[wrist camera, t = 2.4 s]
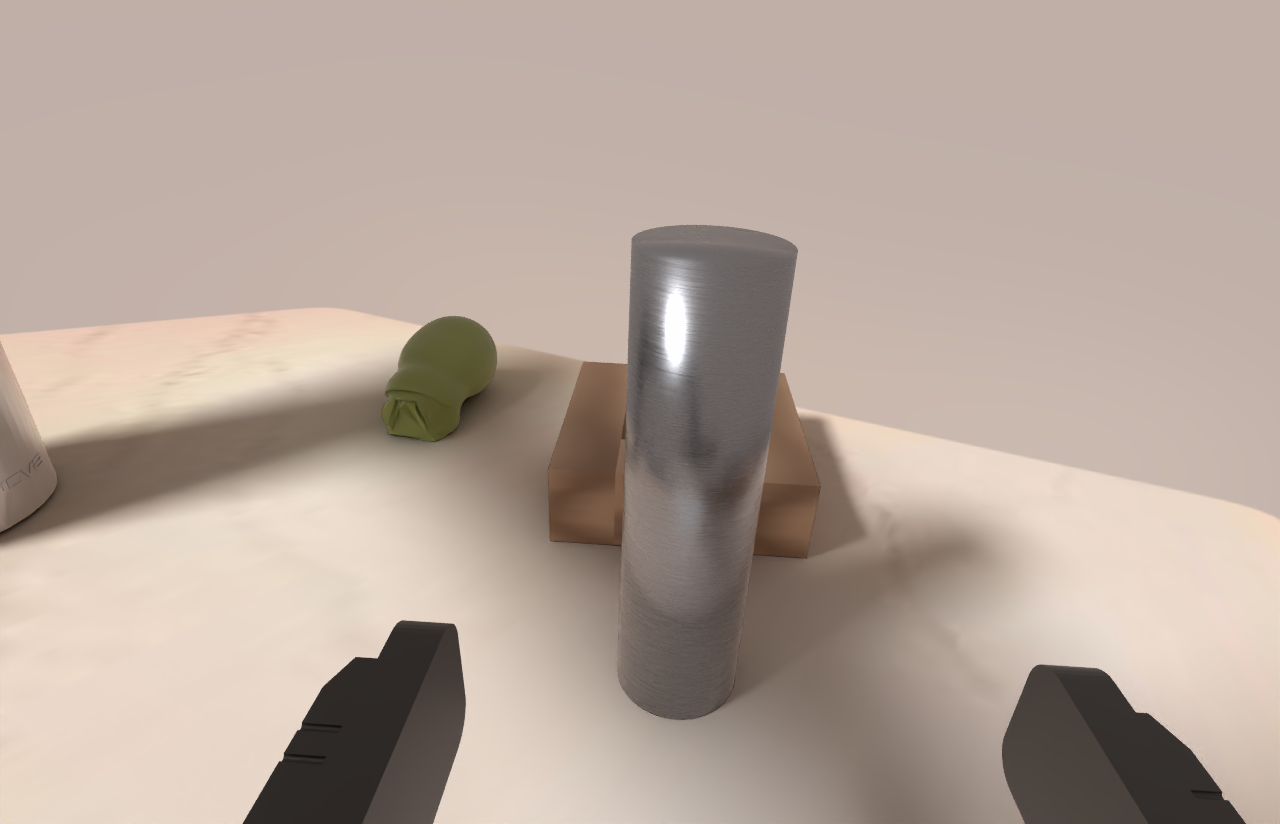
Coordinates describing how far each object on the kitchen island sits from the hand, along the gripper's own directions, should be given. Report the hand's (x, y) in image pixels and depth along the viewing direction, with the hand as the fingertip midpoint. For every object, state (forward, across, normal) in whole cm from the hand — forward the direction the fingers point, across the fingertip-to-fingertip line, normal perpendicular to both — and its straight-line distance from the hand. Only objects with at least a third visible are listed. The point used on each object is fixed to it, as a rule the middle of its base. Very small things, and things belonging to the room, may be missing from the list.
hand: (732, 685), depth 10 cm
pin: (+12, 0, +12) cm, 17 cm away
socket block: (+25, 0, +12) cm, 27 cm away
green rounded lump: (+31, +15, +12) cm, 37 cm away
